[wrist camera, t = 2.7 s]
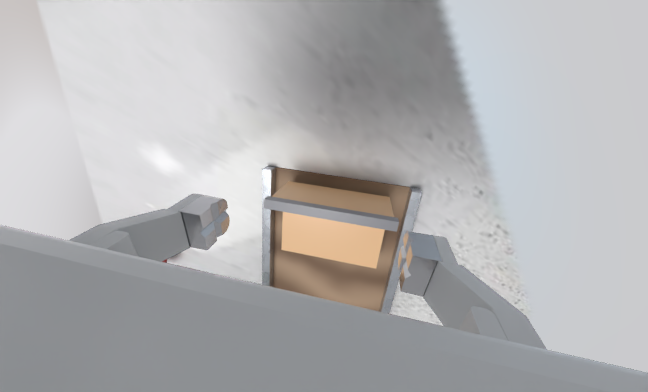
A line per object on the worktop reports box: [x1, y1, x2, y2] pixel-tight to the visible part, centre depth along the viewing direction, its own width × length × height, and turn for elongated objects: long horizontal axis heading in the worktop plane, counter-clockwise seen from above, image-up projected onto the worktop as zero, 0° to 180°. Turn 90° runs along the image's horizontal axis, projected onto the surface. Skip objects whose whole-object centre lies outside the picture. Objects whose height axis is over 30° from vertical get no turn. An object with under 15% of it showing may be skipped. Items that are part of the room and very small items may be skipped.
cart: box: [264, 181, 399, 269], centre depth 24 cm, size 9×12×7 cm
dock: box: [262, 166, 422, 314], centre depth 30 cm, size 25×17×6 cm
